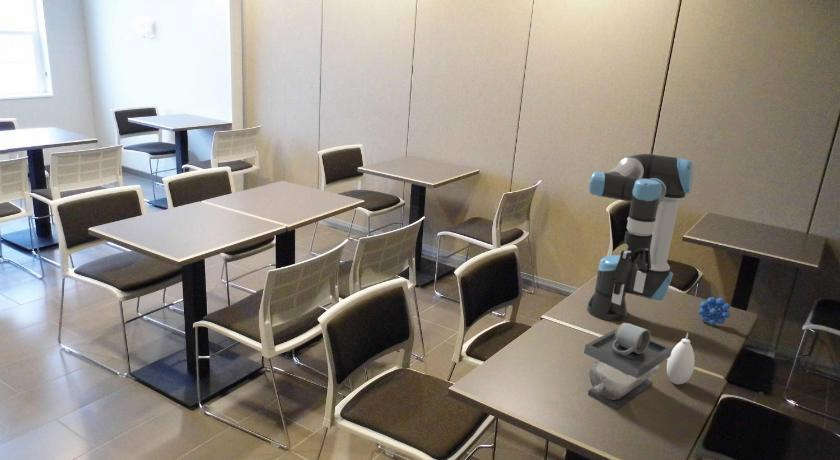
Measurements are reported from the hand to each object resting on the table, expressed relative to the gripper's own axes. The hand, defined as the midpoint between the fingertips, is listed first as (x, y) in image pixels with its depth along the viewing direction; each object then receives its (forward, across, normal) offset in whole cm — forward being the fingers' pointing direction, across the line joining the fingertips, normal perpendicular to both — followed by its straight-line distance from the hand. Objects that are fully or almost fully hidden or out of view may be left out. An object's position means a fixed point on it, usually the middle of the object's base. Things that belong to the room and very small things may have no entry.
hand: (627, 297), depth 185 cm
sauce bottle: (+29, -14, +15) cm, 35 cm away
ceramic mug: (+14, +5, +5) cm, 16 cm away
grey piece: (+28, +5, +6) cm, 29 cm away
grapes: (+30, -68, +5) cm, 74 cm away
